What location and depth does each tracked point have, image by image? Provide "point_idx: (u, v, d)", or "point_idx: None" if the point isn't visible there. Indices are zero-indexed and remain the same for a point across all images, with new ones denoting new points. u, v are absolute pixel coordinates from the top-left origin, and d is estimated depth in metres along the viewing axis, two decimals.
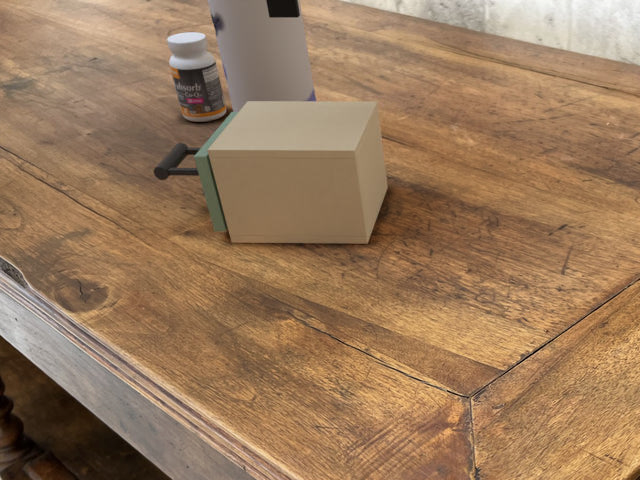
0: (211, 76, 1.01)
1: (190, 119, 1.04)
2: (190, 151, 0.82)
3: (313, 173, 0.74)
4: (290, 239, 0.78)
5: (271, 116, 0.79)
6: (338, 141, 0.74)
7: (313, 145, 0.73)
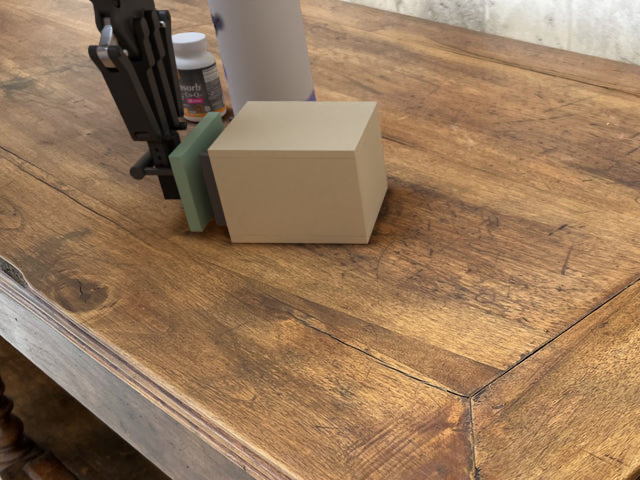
0: (211, 76, 1.01)
1: (190, 119, 1.04)
2: None
3: (313, 173, 0.74)
4: (290, 239, 0.78)
5: (271, 116, 0.79)
6: (338, 141, 0.74)
7: (313, 145, 0.73)
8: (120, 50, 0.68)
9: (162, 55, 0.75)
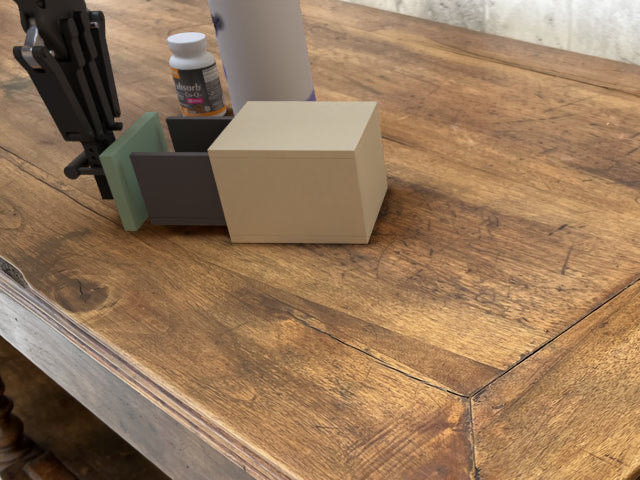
0: (211, 76, 1.01)
1: None
2: None
3: (313, 173, 0.74)
4: (290, 239, 0.78)
5: (271, 116, 0.79)
6: (338, 141, 0.74)
7: (313, 145, 0.73)
8: (45, 51, 0.68)
9: (94, 55, 0.75)
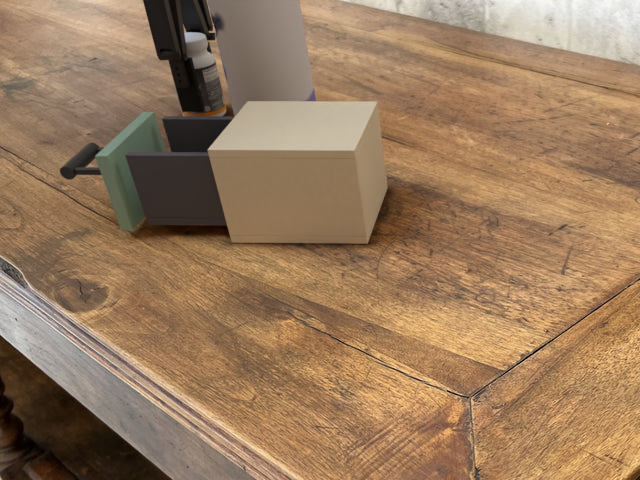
0: (211, 76, 1.01)
1: None
2: (101, 151, 0.82)
3: (313, 173, 0.74)
4: (290, 239, 0.78)
5: (271, 116, 0.79)
6: (338, 141, 0.74)
7: (313, 145, 0.73)
8: None
9: None
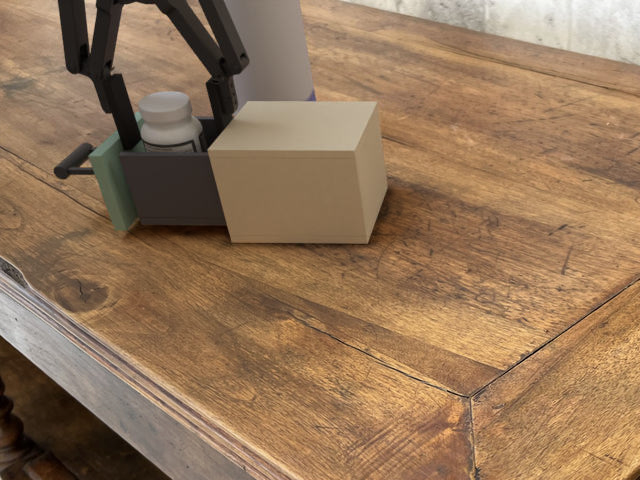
0: None
1: None
2: None
3: (313, 173, 0.74)
4: (290, 239, 0.78)
5: (271, 116, 0.79)
6: (338, 141, 0.74)
7: (313, 145, 0.73)
8: None
9: (165, 8, 0.70)
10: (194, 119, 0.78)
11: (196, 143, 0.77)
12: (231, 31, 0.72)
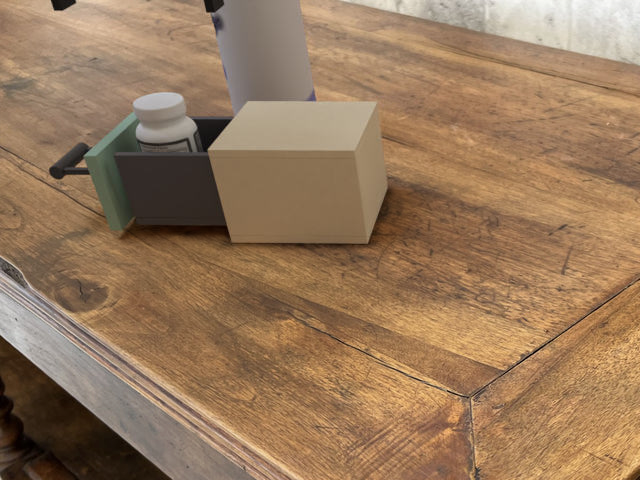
0: None
1: None
2: None
3: (313, 173, 0.74)
4: (290, 239, 0.78)
5: (271, 116, 0.79)
6: (338, 141, 0.74)
7: (313, 145, 0.73)
8: None
9: None
10: (188, 118, 0.78)
11: (191, 142, 0.78)
12: None
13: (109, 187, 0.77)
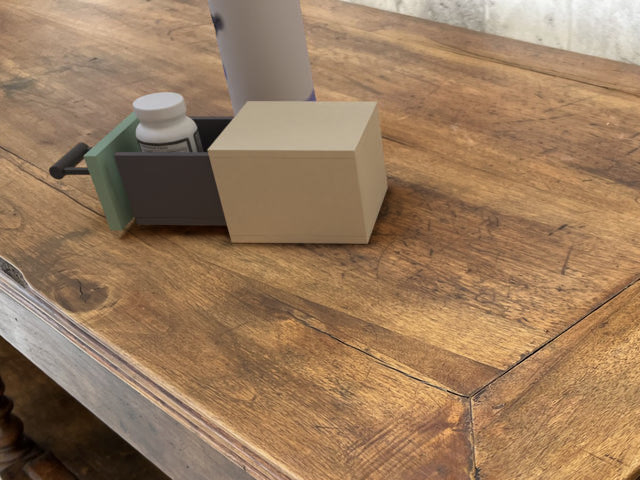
0: None
1: None
2: None
3: (313, 173, 0.74)
4: (290, 239, 0.78)
5: (271, 116, 0.79)
6: (338, 141, 0.74)
7: (313, 145, 0.73)
8: None
9: None
10: (188, 118, 0.78)
11: (191, 142, 0.78)
12: None
13: (109, 187, 0.77)
